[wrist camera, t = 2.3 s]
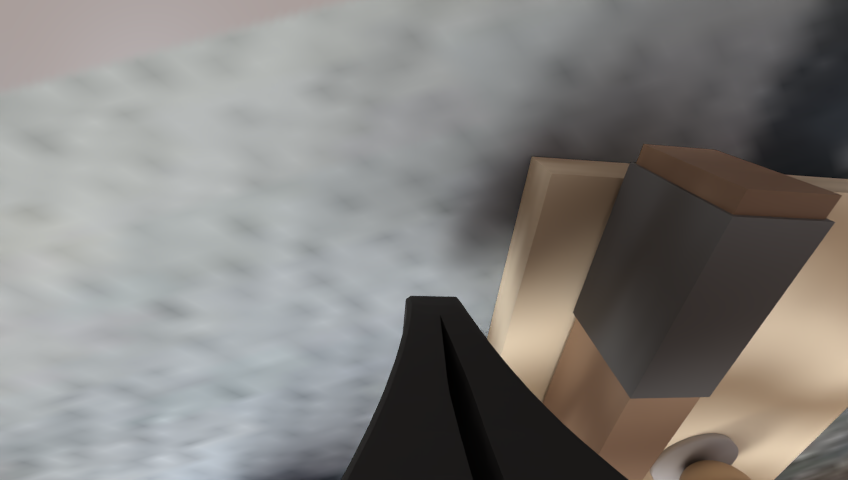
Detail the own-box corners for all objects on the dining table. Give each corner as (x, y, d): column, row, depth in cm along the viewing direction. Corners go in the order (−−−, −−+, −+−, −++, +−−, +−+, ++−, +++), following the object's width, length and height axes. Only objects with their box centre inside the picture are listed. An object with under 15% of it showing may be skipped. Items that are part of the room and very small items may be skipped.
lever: (551, 503, 18) (583, 591, 15) (489, 506, 18) (509, 598, 15) (732, 150, 10) (882, 201, 7) (619, 141, 9) (726, 191, 6)
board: (731, 472, 22) (816, 581, 17) (450, 486, 20) (469, 615, 15) (985, 188, 13) (1281, 267, 9) (531, 156, 11) (629, 239, 7)
